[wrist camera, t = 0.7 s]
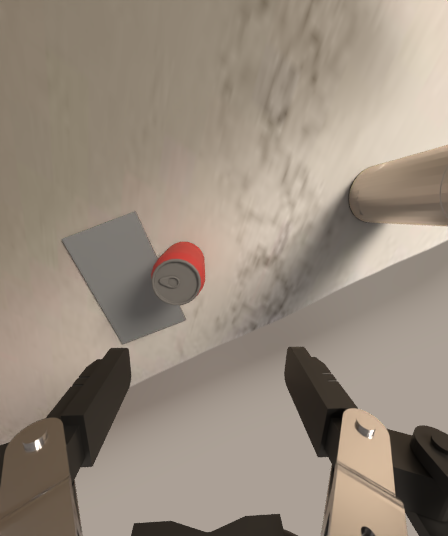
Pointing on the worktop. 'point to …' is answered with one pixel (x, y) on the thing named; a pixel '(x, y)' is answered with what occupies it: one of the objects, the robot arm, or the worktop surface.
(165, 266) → the beer can
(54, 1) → the worktop surface
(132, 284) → the slate mat
